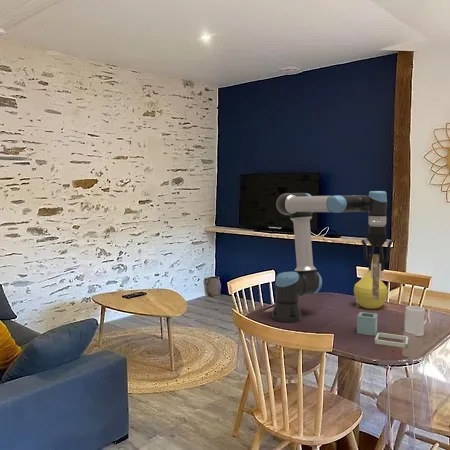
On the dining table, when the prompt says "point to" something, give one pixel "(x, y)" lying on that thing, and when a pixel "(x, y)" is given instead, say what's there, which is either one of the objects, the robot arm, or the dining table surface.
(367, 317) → the teal socket block
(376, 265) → the dowel
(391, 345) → the pale green rectangular frame
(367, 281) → the vase
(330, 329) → the dining table surface
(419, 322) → the mug
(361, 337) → the dining table surface
